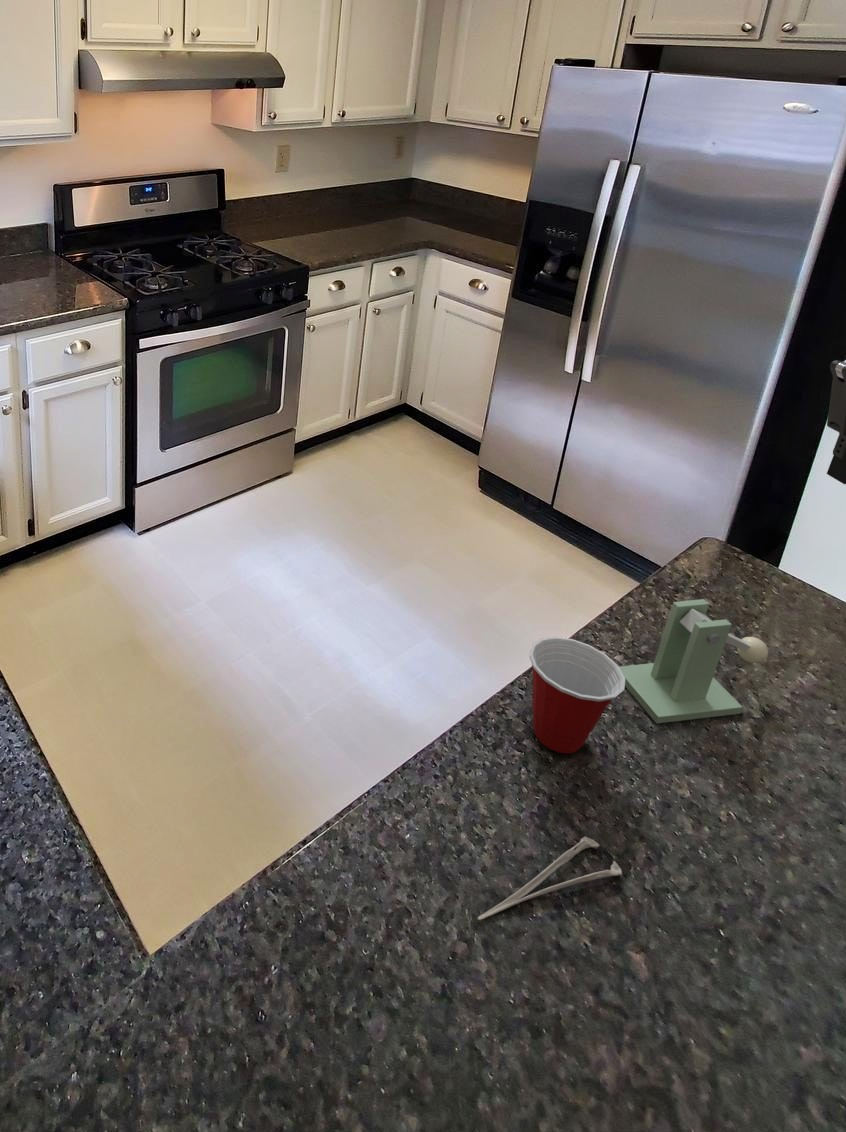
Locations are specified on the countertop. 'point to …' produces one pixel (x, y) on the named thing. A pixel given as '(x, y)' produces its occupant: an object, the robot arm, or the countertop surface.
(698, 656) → the bracket
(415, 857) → the countertop surface
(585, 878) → the lower jaw bone
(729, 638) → the lever
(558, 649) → the plastic cup
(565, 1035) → the countertop surface
